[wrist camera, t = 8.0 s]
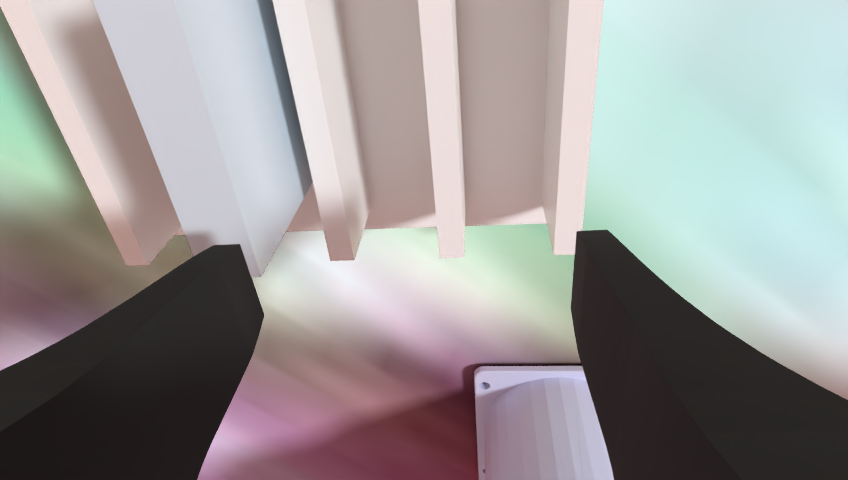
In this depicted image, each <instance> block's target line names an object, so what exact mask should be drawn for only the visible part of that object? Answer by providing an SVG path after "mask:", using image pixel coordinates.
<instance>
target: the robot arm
mask: <svg viewBox="0 0 848 480" xmlns="http://www.w3.org/2000/svg"><path fill="white" fill-rule="evenodd" d="M571 312H572V318H573V325H574V331H575V337H576V343H577V349H578V353H579V357H580V360H581V364H582V366H482V367H479V368H477V369H476V370H475V372H474V386H475V408H476V429H477V450H478V471H479V480H848V400H846V399H844V398H842V397H840V396H839V395H837V394H835V393H833V392H831V391H829V390H827V389H825V388H823V387H821V386H819V385H817V384H815V383H814V382H812V381H810V380H808V379H806V378H805V377H803V376H801V375H799V374H797V373H795V372H794V371H792V370H790V369H788V368H786V367H785V366H783V365H781V364H779V363H778V362H776V361H774V360H773V359H771V358H769V357H768V356H766V355H764V354H762V353H761V352H759V351H758V350H756V349H755V348H753V347H752V346H750V345H748V344H747V343H745V342H744V341H742V340H741V339H739V338H738V337H736V336H735V335H733V334H732V333H730V332H728V331H727V330H725V329H724V328H723V327H721V326H720V325H718V324H717V323H715V322H714V321H713V320H711V319H710V318H709V317H707V316H706V315H705V314H703V313H702V312H701V311H699V310H698V309H697V308H695V307H694V306H693V305H692V304H690V303H689V302H688V301H686V300H685V299H684V298H683V297H681V296H680V295H679V294H678V293H676V292H675V291H674V290H673V289H672V288H670V287H669V286H668V285H667V284H666V283H664V282H663V281H662V280H661V279H660V278H659V277H658V276H656V275H655V274H654V273H653V272H652V271H651V270H650V269H649V268H647V267H646V266H645V265H644V264H643V263H642V262H641V261H640V260H639V259H638V258H637V257H636V256H635V255H634V254H632V253H631V252H630V251H629V250H628V249H627V248H626V247H625V246H624V245H623V244H622V243H621V242H620V241H619V240H618V239H617V238H616V237H615V236H614V235H612V234H611V233H610V232H609V231H608V230H593V231H577V232H576V245H575V259H574V273H573V287H572V301H571ZM263 318H264V313H263V310H262V307H261V304H260V301H259V298H258V295H257V292H256V289H255V287H254V284H253V281H252V278H251V275H250V272H249V269H248V266H247V263H246V260H245V257H244V254H243V251H242V248H241V245H240V244H228V245H213V246H211V247H209V248H207V249H206V250H204V251H202V252H200V253H199V254H197V255H195V256H194V257H192V258H191V259H189V260H188V261H186V262H184V263H183V264H181V265H180V266H178V267H177V268H175V269H174V270H172V271H171V272H169V273H168V274H166V275H165V276H163V277H162V278H160V279H159V280H157V281H156V282H154V283H153V284H151V285H150V286H148V287H147V288H145V289H144V290H142V291H141V292H139V293H138V294H136V295H135V296H133V297H132V298H130V299H129V300H127V301H125V302H124V303H122V304H121V305H119V306H117V307H116V308H114V309H113V310H111V311H109V312H108V313H106V314H104V315H103V316H101V317H100V318H98V319H96V320H95V321H93V322H92V323H90V324H88V325H87V326H85V327H83V328H82V329H80V330H78V331H76V332H75V333H73V334H71V335H69V336H68V337H66V338H64V339H62V340H60V341H59V342H57V343H55V344H53V345H51V346H49V347H47V348H45V349H43V350H42V351H40V352H38V353H36V354H34V355H32V356H30V357H28V358H26V359H24V360H22V361H20V362H18V363H16V364H14V365H12V366H9V367H7V368H5V369H3V370H1V371H0V480H197V478H198V475H199V472H200V470H201V467H202V464H203V462H204V459H205V457H206V454H207V452H208V450H209V447H210V445H211V443H212V440H213V438H214V436H215V434H216V432H217V430H218V428H219V426H220V424H221V421H222V419H223V417H224V415H225V413H226V411H227V409H228V407H229V405H230V402H231V400H232V398H233V396H234V394H235V392H236V390H237V388H238V386H239V383H240V381H241V379H242V377H243V375H244V372H245V370H246V368H247V366H248V364H249V361H250V359H251V357H252V355H253V352H254V348H255V345H256V342H257V339H258V336H259V332H260V329H261V325H262V322H263ZM483 382H486V383H483Z"/></svg>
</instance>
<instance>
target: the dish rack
mask: <svg viewBox="0 0 848 480" xmlns="http://www.w3.org/2000/svg"><path fill="white" fill-rule="evenodd" d="M272 1H273V5H274V10H275V14H276V19H277V23H278V28H279V32H280V37H281V41H282V46H283V50H284V55H285V59H286V64H287V68H288V73H289V77H290V82H291V86H292V91H293V95H294V100H295V104H296V108H297V113H298V117H299V122H300V126H301V131H302V135H303V140H304V144H305V149H306V153H307V158H308V162H309V167H310V171H311V176H312V180H313V182H312V184H311V186H310V188H309V190H308V191H307V193H306V195H305V197H304V199H303V201H302V202H301V204H300V206H299V208H298V210H297V212H296V214H295V215H294V217H293V219H292V221H291V223H290V225H289V226H288V228H287V230H286V232H289V231H320V230H324V234H325V239H326V243H327V247H328V252H329V256H330V261H339V260H354V259H355V256H356V253H357V250H358V247H359V244H360V240H361V237H362V234H363V231H364V229H383V228H415V227H437V234H438V246H439V258H458V257H464V254H465V226H477V225H509V224H540V223H547V227H548V232H549V236H550V241H551V245H552V249H553V254H554V255H575V245H576V232H577V231H582V226H583V216H584V205H585V194H586V184H587V173H588V163H589V152H590V141H591V131H592V120H593V109H594V99H595V88H596V77H597V67H598V56H599V46H600V35H601V24H602V14H603V3H604V0H272ZM0 7H1V9H2V11H3V13H4V15H5V17H6V19H7V21H8V23H9V25H10V27H11V29H12V31H13V34H14V36H15V38H16V40H17V42H18V44H19V46H20V48H21V50H22V52H23V54H24V56H25V58H26V60H27V62H28V64H29V66H30V69H31V71H32V73H33V75H34V77H35V79H36V81H37V83H38V85H39V87H40V89H41V91H42V93H43V95H44V97H45V99H46V101H47V103H48V106H49V108H50V110H51V112H52V114H53V116H54V118H55V120H56V122H57V124H58V126H59V128H60V130H61V132H62V134H63V136H64V138H65V141H66V143H67V145H68V147H69V149H70V151H71V153H72V155H73V157H74V159H75V161H76V163H77V165H78V167H79V169H80V171H81V173H82V175H83V178H84V180H85V182H86V184H87V186H88V188H89V190H90V192H91V194H92V196H93V198H94V200H95V202H96V204H97V206H98V208H99V210H100V213H101V215H102V217H103V219H104V221H105V223H106V225H107V227H108V229H109V231H110V233H111V235H112V237H113V239H114V241H115V243H116V245H117V247H118V250H119V252H120V254H121V256H122V258H123V260H124V262H125V264H126V266H142V265H149V264H150V263H151V262H152V260H153V259H154V258H155V257H156V256H157V255H158V253H159V252H160V251H161V250H162V249H163V248H164V246H165V245H166V244H167V243H168V242H169V241H170V239H171V238H172V237H173V236H174V235H185V234H184V232H183V229H182V226H181V224H180V221H179V219H178V216H177V214H176V211H175V209H174V206H173V204H172V201H171V198H170V196H169V193H168V191H167V188H166V186H165V183H164V181H163V178H162V176H161V173H160V170H159V168H158V165H157V163H156V160H155V158H154V155H153V153H152V150H151V148H150V145H149V142H148V140H147V137H146V135H145V132H144V130H143V127H142V125H141V122H140V120H139V117H138V114H137V112H136V109H135V107H134V104H133V102H132V99H131V97H130V94H129V92H128V89H127V86H126V84H125V81H124V79H123V76H122V74H121V71H120V69H119V66H118V64H117V61H116V58H115V56H114V53H113V51H112V48H111V46H110V43H109V41H108V38H107V36H106V33H105V30H104V28H103V25H102V23H101V20H100V18H99V15H98V13H97V10H96V8H95V5H94V2H93V0H0Z"/></svg>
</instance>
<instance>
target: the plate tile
mask: <svg viewBox="0 0 848 480" xmlns="http://www.w3.org/2000/svg"><path fill="white" fill-rule="evenodd" d="M93 2H94V5H95V8H96V10H97V13H98V15H99V18H100V20H101V23H102V25H103V28H104V30H105V33H106V36H107V38H108V41H109V43H110V46H111V48H112V51H113V53H114V56H115V58H116V61H117V64H118V66H119V69H120V71H121V74H122V76H123V79H124V81H125V84H126V86H127V89H128V92H129V94H130V97H131V99H132V102H133V104H134V107H135V109H136V112H137V114H138V117H139V120H140V122H141V125H142V127H143V130H144V132H145V135H146V137H147V140H148V142H149V145H150V148H151V150H152V153H153V155H154V158H155V160H156V163H157V165H158V168H159V170H160V173H161V176H162V178H163V181H164V183H165V186H166V188H167V191H168V193H169V196H170V198H171V201H172V204H173V206H174V209H175V211H176V214H177V216H178V219H179V221H180V224H181V226H182V229H183V232H184V234H185V237H186V239H187V242H188V244H189V247H190V249H191V252H192V254H193V257H194V256H195V255H197V254H199V253H200V252H202V251H204V250H206V249H207V248H209V247H211V246H213V245H228V244H240V245H241V248H242V251H243V254H244V257H245V260H246V263H247V266H248V269H249V272H250V275H251V277H261V276H262V274H263V273H264V271H265V269H266V267H267V265H268V263H269V262H270V260H271V258H272V256H273V254H274V252H275V250H276V249H277V247H278V245H279V243H280V241H281V239H282V238H283V236H284V234H285V232H286V230H287V228H288V226H289V225H290V223H291V221H292V219H293V217H294V215H295V214H296V212H297V210H298V208H299V206H300V204H301V202H302V201H303V199H304V197H305V195H306V193H307V191H308V190H309V188H310V186H311V184H312V182H313V180H312V176H311V171H310V167H309V162H308V158H307V153H306V149H305V144H304V140H303V135H302V131H301V126H300V122H299V117H298V113H297V108H296V104H295V100H294V95H293V91H292V86H291V82H290V77H289V73H288V68H287V64H286V59H285V55H284V50H283V46H282V41H281V37H280V32H279V28H278V23H277V19H276V14H275V10H274V5H273V1H272V0H93Z"/></svg>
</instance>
